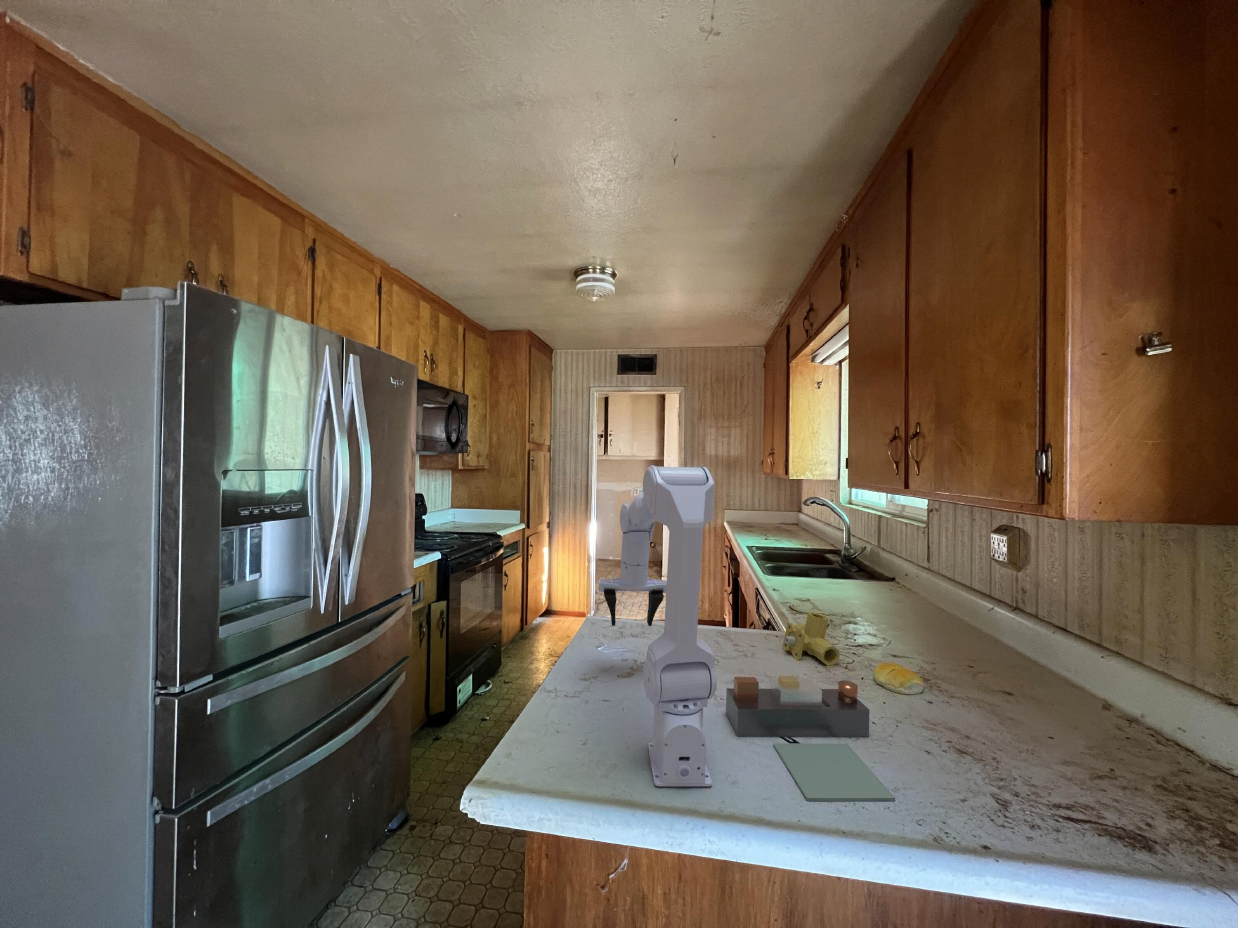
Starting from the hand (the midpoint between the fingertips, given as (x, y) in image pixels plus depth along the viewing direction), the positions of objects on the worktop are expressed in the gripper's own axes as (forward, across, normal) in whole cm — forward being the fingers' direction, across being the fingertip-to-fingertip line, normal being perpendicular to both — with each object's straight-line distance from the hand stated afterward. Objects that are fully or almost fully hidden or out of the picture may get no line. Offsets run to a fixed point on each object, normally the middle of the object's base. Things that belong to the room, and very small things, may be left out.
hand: (631, 623), depth 97 cm
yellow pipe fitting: (+11, -43, -7) cm, 45 cm away
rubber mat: (+6, -26, +33) cm, 43 cm away
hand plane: (+8, -26, +22) cm, 35 cm away
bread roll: (+9, -55, +8) cm, 56 cm away
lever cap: (+3, -26, +21) cm, 34 cm away
